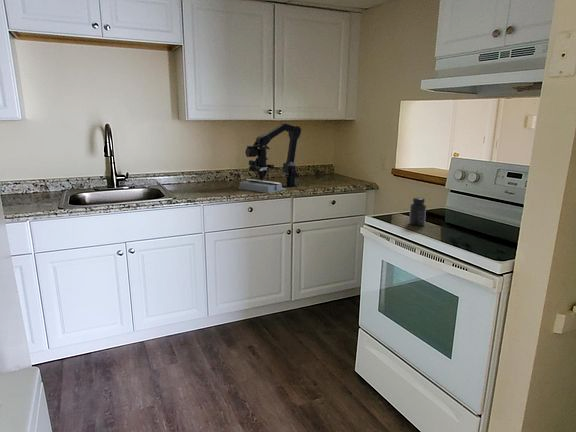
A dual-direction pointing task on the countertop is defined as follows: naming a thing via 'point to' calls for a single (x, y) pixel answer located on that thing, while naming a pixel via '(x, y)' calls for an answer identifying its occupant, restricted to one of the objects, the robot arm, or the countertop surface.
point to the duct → (261, 186)
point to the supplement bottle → (417, 212)
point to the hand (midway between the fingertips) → (261, 180)
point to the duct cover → (263, 181)
